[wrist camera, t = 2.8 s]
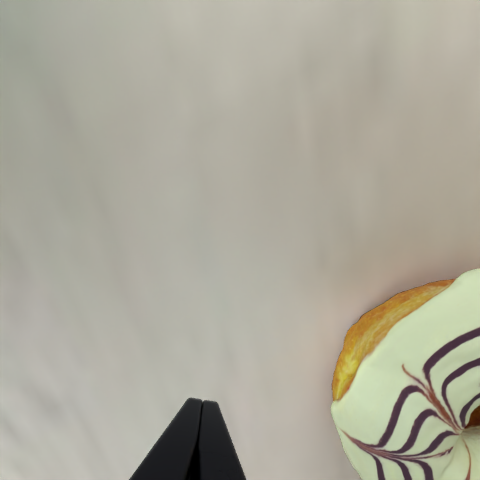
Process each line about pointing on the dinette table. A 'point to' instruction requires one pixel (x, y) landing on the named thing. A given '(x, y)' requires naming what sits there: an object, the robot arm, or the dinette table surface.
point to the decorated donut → (413, 385)
